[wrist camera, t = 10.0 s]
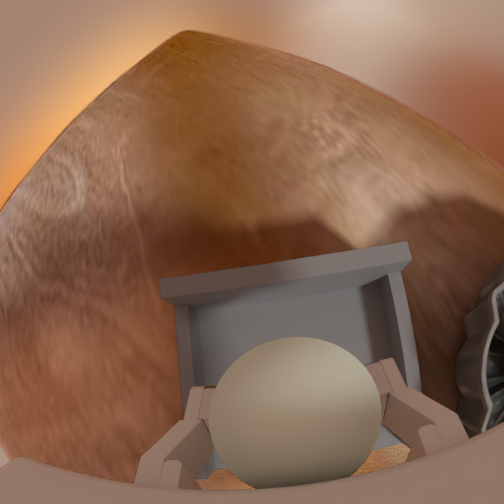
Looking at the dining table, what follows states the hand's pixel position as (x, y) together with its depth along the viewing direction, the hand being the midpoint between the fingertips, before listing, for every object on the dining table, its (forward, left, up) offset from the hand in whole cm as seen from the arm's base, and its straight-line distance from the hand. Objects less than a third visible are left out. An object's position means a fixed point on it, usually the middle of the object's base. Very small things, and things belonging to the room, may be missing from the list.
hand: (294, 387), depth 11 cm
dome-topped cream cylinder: (-1, 0, -5) cm, 5 cm away
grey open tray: (-1, 0, -18) cm, 18 cm away
